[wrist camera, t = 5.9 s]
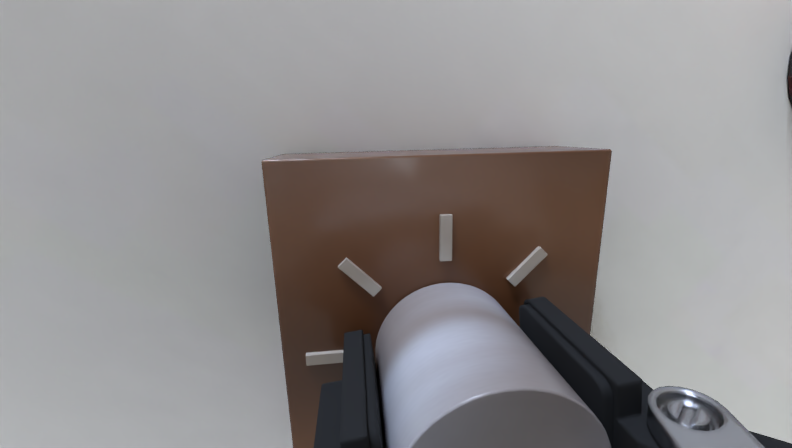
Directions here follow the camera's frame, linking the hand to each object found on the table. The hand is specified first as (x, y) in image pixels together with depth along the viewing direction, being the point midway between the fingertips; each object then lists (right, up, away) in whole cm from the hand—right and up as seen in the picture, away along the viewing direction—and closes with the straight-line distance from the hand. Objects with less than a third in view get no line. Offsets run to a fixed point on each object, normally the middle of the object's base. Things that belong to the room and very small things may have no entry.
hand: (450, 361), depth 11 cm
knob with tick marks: (0, +1, +4) cm, 4 cm away
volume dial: (0, 0, +1) cm, 1 cm away
